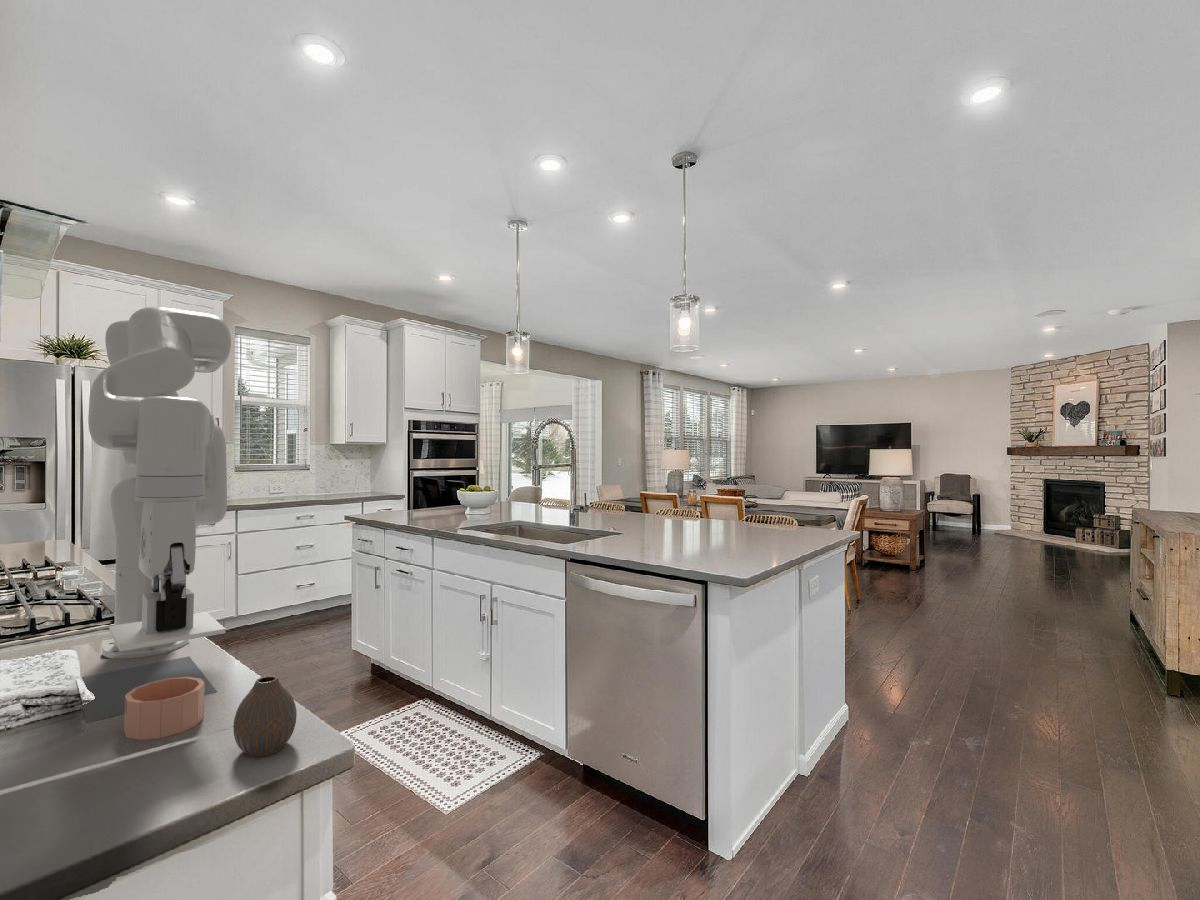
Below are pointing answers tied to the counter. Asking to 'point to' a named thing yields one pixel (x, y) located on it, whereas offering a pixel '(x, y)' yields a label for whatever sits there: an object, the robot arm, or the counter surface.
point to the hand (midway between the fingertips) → (167, 624)
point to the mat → (133, 685)
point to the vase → (265, 718)
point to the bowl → (163, 707)
